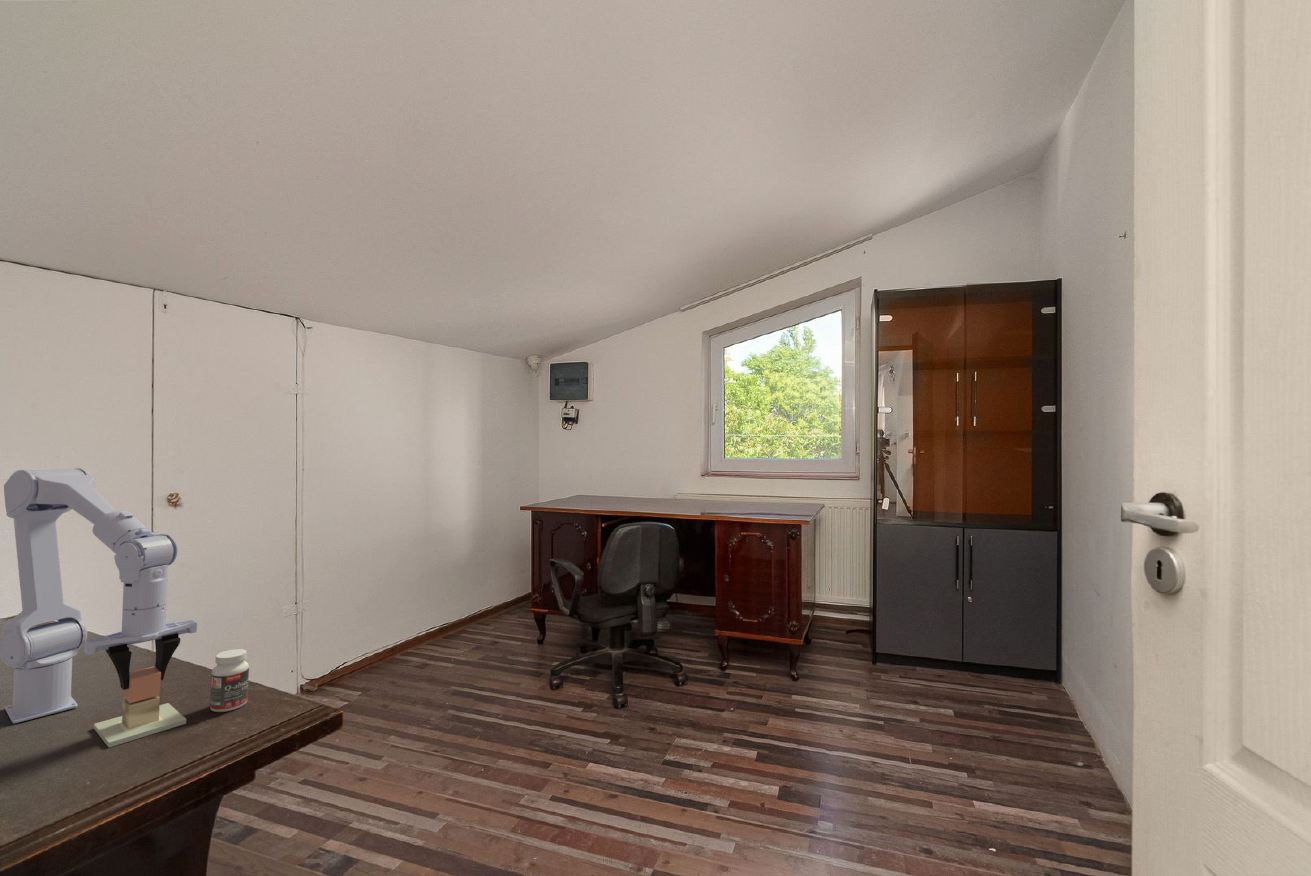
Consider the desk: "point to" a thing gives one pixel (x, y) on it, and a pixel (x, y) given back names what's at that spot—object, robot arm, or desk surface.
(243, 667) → the pill bottle
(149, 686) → the terracotta cube
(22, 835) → the desk surface
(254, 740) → the desk surface
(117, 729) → the board
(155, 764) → the desk surface
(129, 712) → the beech cube
